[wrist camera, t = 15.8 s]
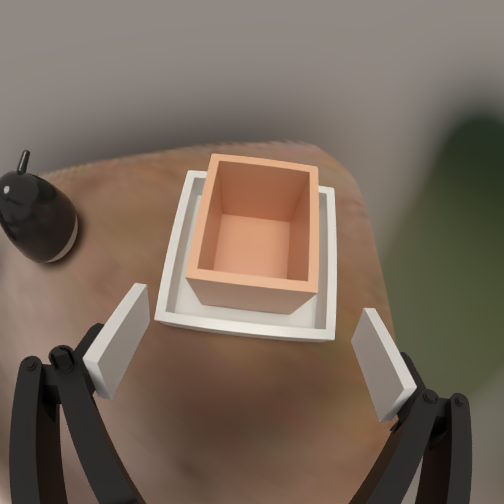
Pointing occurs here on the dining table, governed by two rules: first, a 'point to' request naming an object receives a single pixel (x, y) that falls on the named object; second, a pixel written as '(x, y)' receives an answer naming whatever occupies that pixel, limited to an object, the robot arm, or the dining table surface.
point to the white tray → (242, 321)
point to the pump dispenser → (36, 215)
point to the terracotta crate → (256, 235)
